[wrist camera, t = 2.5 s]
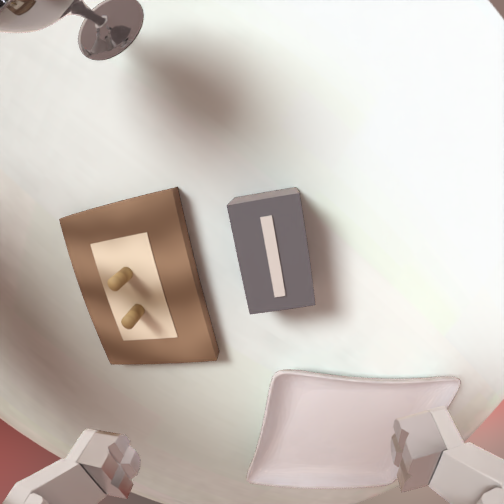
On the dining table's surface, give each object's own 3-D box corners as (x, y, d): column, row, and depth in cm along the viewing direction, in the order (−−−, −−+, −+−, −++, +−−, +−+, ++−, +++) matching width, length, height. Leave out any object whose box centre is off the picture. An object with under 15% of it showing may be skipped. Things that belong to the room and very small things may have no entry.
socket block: (234, 197, 26) (226, 205, 22) (296, 187, 25) (299, 193, 21) (253, 292, 28) (249, 315, 24) (310, 284, 27) (315, 305, 23)
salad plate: (388, 470, 36) (392, 487, 32) (247, 466, 37) (244, 485, 33) (454, 361, 29) (466, 379, 26) (273, 348, 30) (272, 370, 27)
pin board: (67, 215, 27) (41, 225, 23) (177, 186, 26) (160, 193, 22) (116, 356, 32) (100, 379, 28) (219, 351, 30) (211, 378, 26)
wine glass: (139, -20, 20) (56, -99, 6) (155, 40, 22) (53, -34, 8) (71, 17, 21) (-31, -28, 7) (80, 78, 23) (-42, 51, 9)
